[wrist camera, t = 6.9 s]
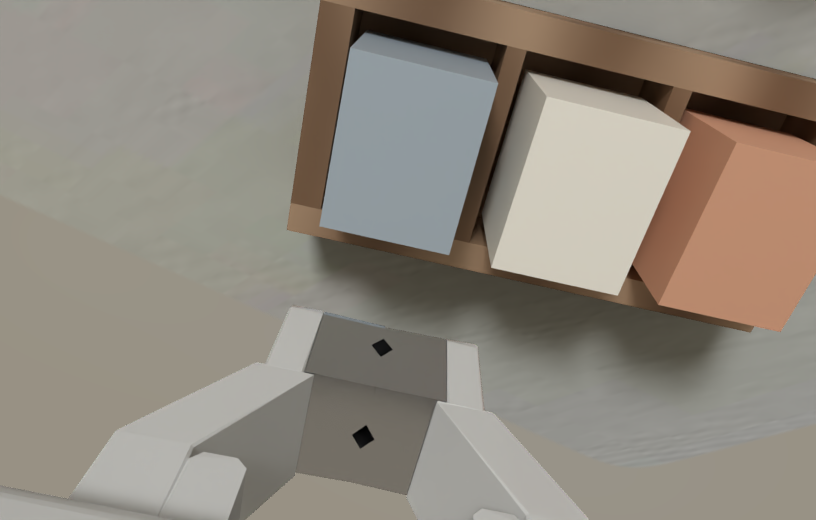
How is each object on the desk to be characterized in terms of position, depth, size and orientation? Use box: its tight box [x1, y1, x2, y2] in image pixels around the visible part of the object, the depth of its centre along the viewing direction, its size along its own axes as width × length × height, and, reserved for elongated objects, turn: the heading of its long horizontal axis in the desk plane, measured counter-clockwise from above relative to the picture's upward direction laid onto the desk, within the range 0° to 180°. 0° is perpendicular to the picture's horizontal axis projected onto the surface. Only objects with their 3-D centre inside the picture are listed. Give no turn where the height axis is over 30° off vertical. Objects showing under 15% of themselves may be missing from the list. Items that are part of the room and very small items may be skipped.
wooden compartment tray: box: [287, 0, 816, 332], centre depth 25 cm, size 20×10×4 cm, turn 77°
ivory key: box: [482, 69, 691, 296], centre depth 22 cm, size 5×6×5 cm
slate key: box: [319, 30, 498, 255], centre depth 22 cm, size 5×6×5 cm
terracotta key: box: [632, 108, 816, 332], centre depth 22 cm, size 5×6×5 cm
